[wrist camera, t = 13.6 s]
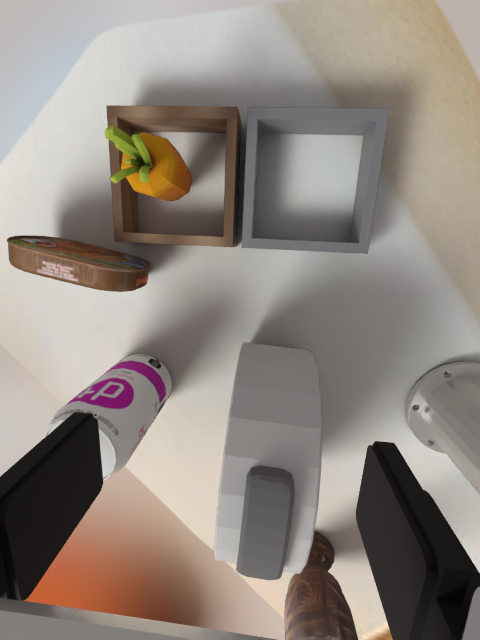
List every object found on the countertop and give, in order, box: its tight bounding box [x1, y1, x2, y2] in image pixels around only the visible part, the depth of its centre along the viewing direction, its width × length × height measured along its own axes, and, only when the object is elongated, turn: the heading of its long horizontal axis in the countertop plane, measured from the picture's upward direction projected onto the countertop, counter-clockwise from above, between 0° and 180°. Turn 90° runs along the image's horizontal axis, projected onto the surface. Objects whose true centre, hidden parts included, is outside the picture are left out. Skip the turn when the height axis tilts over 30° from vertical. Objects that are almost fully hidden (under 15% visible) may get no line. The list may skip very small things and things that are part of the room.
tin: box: [7, 236, 150, 292], centre depth 34 cm, size 15×3×8 cm, turn 77°
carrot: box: [105, 125, 192, 201], centre depth 28 cm, size 5×5×15 cm
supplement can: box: [44, 354, 172, 481], centre depth 35 cm, size 8×8×15 cm
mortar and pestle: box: [284, 533, 358, 640], centre depth 37 cm, size 12×9×20 cm
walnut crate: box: [107, 106, 241, 247], centre depth 33 cm, size 13×13×4 cm
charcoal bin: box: [242, 107, 389, 254], centre depth 32 cm, size 13×13×4 cm
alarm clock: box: [214, 342, 322, 580], centre depth 32 cm, size 21×8×20 cm, turn 175°
